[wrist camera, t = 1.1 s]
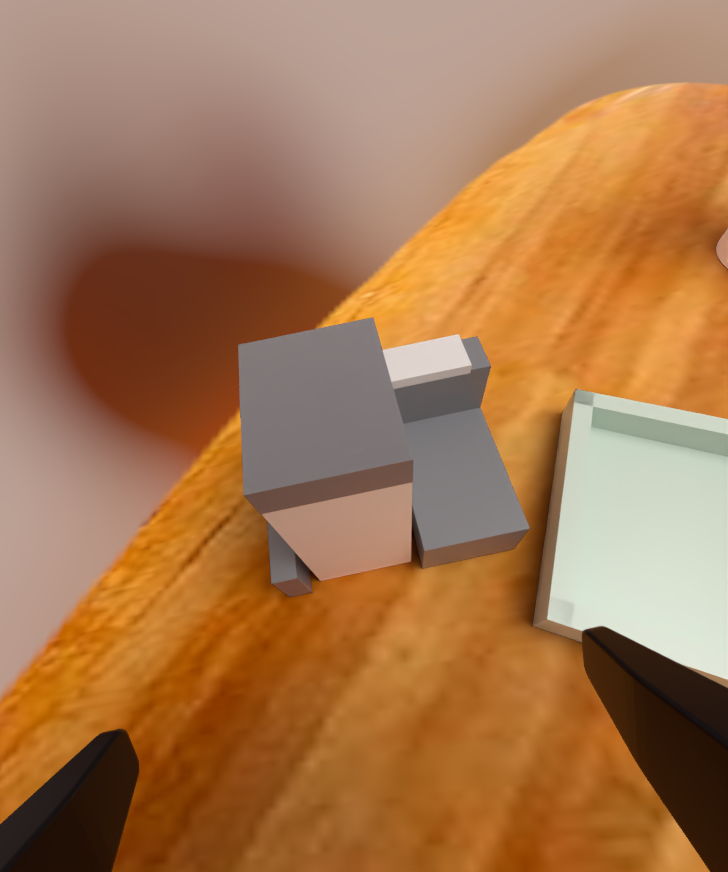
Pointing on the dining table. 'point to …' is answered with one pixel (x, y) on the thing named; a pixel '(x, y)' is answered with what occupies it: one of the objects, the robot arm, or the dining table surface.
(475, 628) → the dining table surface
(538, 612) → the tray
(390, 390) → the block
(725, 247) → the cylindrical container
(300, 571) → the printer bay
